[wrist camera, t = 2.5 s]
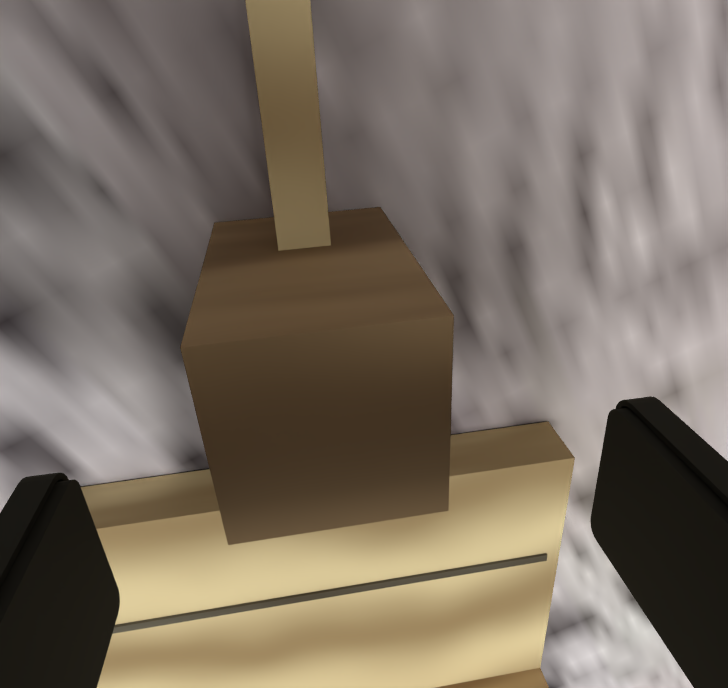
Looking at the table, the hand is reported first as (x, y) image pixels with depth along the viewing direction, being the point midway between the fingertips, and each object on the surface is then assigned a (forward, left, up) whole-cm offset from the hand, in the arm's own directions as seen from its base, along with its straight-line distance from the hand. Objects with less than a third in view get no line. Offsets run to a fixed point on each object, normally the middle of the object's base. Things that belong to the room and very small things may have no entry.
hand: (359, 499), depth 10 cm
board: (+12, -1, -8) cm, 14 cm away
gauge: (-4, 0, -8) cm, 9 cm away
